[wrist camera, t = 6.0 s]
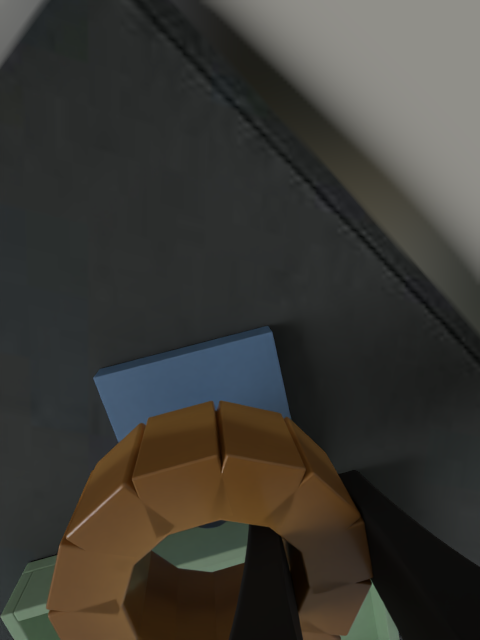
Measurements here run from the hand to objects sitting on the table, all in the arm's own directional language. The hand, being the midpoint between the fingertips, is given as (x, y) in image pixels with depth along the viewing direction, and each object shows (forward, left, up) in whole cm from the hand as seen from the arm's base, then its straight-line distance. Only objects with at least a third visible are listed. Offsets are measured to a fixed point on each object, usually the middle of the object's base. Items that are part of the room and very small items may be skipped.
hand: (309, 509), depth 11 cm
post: (0, +3, -7) cm, 7 cm away
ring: (0, +3, -1) cm, 3 cm away
